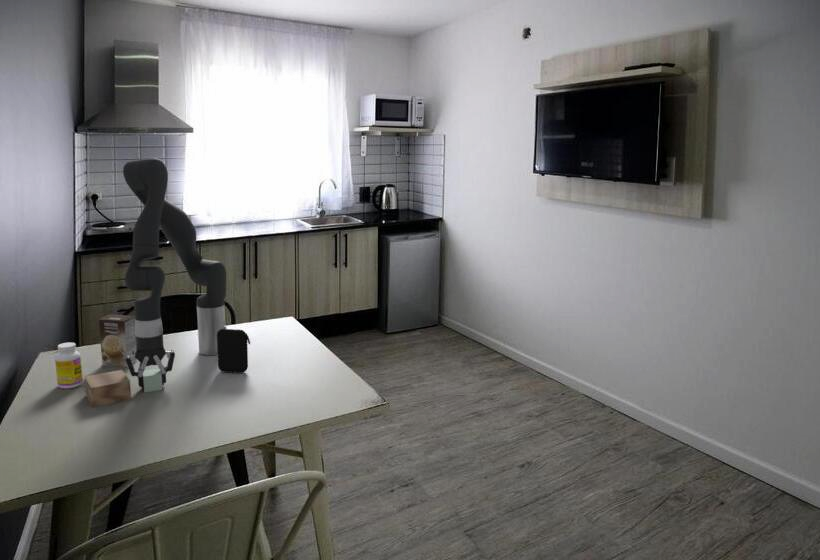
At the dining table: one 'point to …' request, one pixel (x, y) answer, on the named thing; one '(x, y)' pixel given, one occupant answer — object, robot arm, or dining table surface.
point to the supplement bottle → (68, 366)
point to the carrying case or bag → (232, 350)
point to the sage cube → (152, 380)
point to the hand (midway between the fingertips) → (152, 385)
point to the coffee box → (117, 339)
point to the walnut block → (107, 388)
